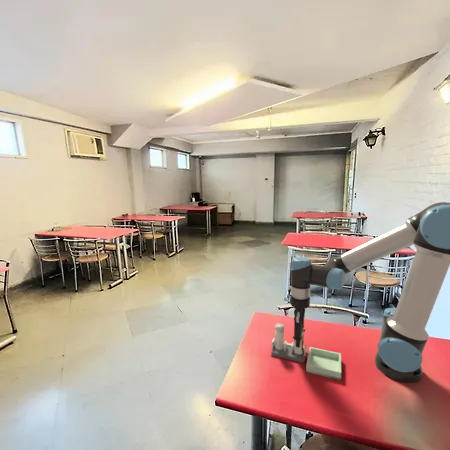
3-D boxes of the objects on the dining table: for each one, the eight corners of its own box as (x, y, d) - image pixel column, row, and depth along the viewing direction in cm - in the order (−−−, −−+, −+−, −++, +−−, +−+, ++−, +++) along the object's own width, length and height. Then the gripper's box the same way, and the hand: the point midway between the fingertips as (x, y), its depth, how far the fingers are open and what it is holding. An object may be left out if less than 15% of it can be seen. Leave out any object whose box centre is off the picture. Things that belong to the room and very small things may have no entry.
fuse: (284, 346, 114) (284, 324, 112) (282, 351, 110) (283, 329, 109) (275, 344, 115) (276, 322, 114) (273, 349, 112) (274, 327, 110)
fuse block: (306, 351, 112) (307, 341, 112) (304, 363, 105) (305, 352, 104) (274, 344, 118) (274, 335, 117) (270, 355, 110) (270, 345, 110)
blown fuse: (303, 350, 111) (304, 328, 109) (302, 355, 107) (303, 332, 106) (294, 348, 112) (295, 326, 111) (293, 353, 109) (293, 331, 107)
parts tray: (340, 360, 106) (340, 353, 106) (340, 380, 96) (341, 372, 95) (309, 353, 111) (309, 346, 111) (306, 372, 100) (306, 364, 100)
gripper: (293, 287, 115) (292, 336, 119) (286, 303, 100) (285, 360, 103) (311, 289, 112) (310, 340, 116) (307, 306, 97) (305, 364, 100)
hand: (298, 349), depth 110 cm, fingers open, 4 cm apart
